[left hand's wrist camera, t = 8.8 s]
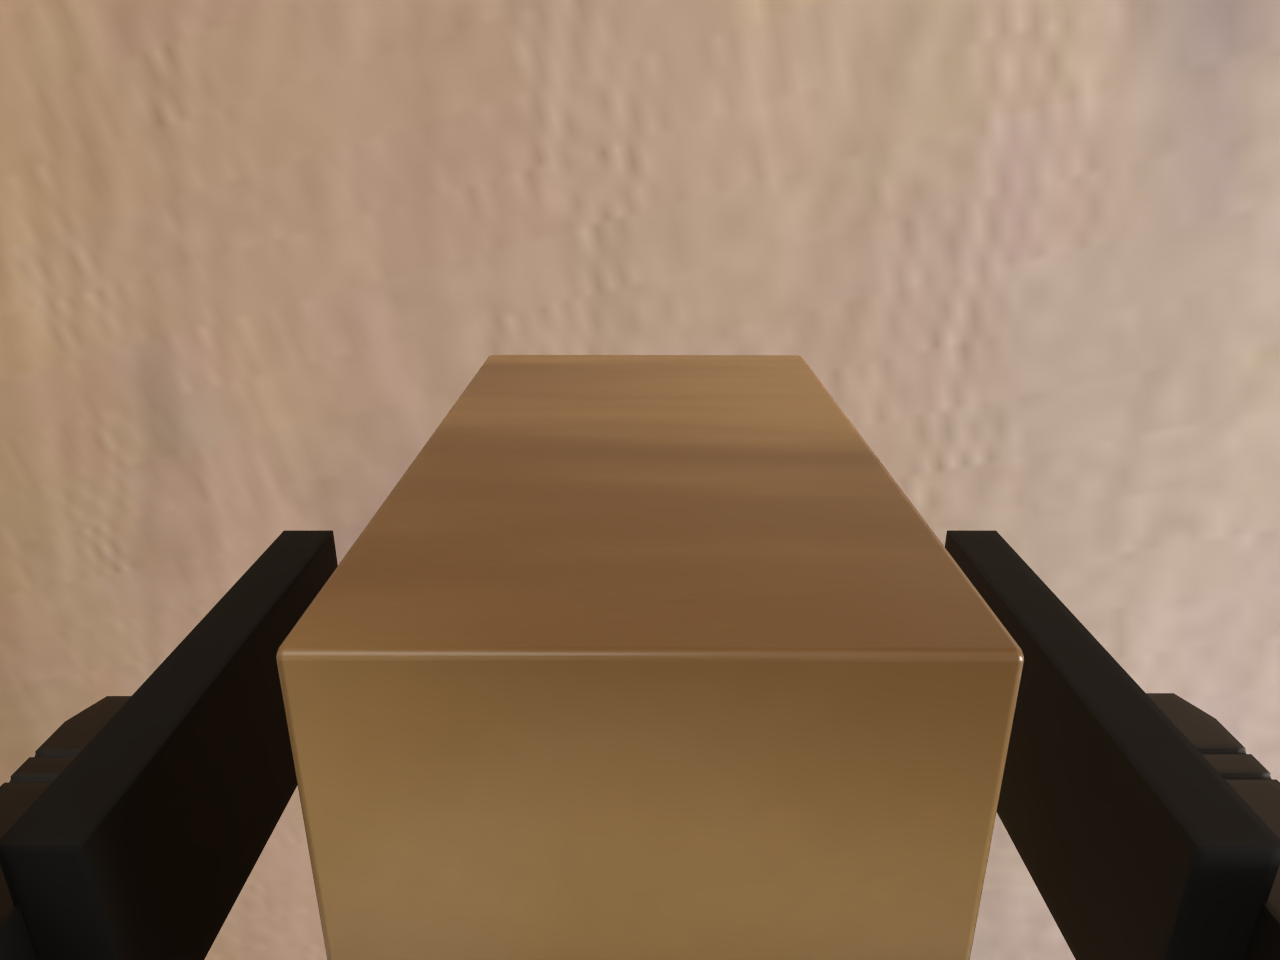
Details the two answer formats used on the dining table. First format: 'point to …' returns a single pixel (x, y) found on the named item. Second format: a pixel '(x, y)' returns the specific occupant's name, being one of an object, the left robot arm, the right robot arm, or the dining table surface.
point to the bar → (648, 684)
